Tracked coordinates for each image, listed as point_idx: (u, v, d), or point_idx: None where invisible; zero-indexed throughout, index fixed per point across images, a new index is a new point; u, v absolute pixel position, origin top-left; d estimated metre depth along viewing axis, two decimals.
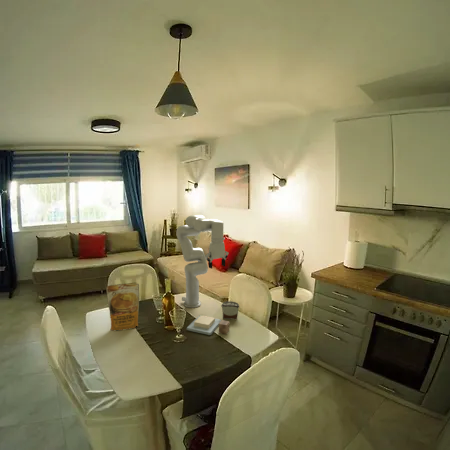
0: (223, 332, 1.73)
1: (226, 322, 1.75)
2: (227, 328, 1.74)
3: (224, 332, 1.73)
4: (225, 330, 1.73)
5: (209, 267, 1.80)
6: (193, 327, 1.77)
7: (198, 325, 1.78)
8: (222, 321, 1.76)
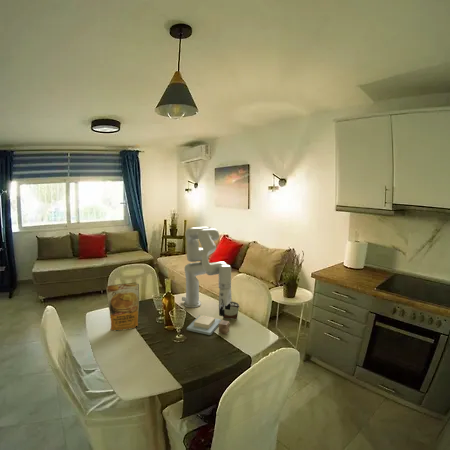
0: (223, 332, 1.73)
1: (226, 322, 1.75)
2: (227, 328, 1.74)
3: (224, 332, 1.73)
4: (225, 330, 1.73)
5: None
6: (193, 327, 1.77)
7: (198, 325, 1.78)
8: (222, 321, 1.76)
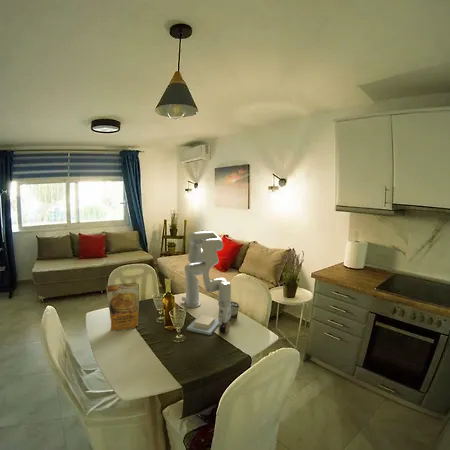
0: None
1: None
2: (227, 328, 1.74)
3: None
4: (225, 330, 1.73)
5: None
6: (193, 327, 1.77)
7: (198, 325, 1.78)
8: None
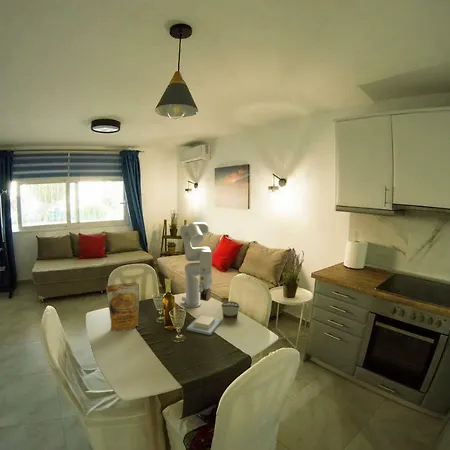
0: None
1: (207, 289, 1.79)
2: (208, 295, 1.78)
3: None
4: (206, 297, 1.77)
5: None
6: (193, 327, 1.77)
7: (198, 325, 1.78)
8: None
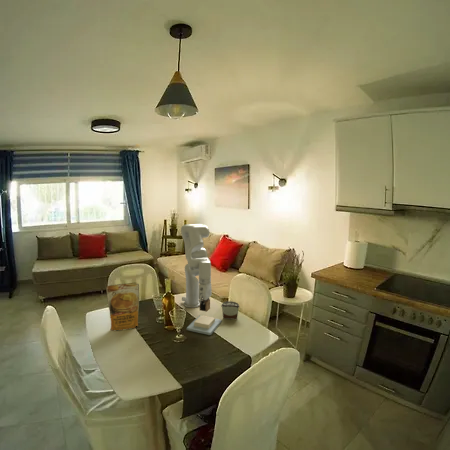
0: None
1: (207, 300, 1.80)
2: (207, 305, 1.79)
3: None
4: (205, 307, 1.77)
5: None
6: (193, 327, 1.77)
7: (198, 325, 1.78)
8: None
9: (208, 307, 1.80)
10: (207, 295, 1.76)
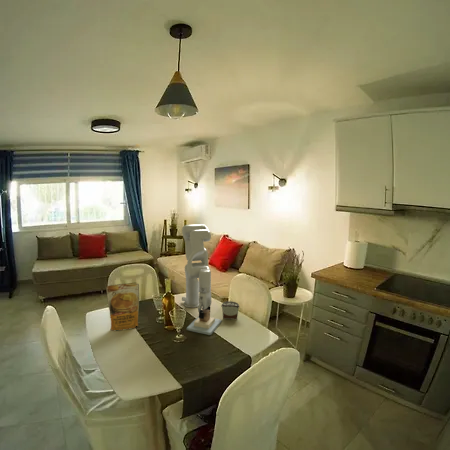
0: (203, 320, 1.80)
1: (206, 310, 1.81)
2: (207, 316, 1.80)
3: (204, 320, 1.79)
4: (205, 318, 1.79)
5: None
6: (193, 327, 1.77)
7: (198, 325, 1.78)
8: None
9: (208, 317, 1.81)
10: (207, 304, 1.77)
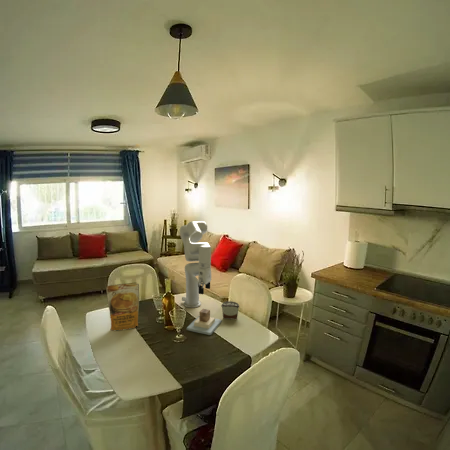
0: (203, 320, 1.80)
1: (206, 310, 1.81)
2: (207, 316, 1.80)
3: (204, 320, 1.79)
4: (205, 318, 1.79)
5: None
6: (193, 327, 1.77)
7: (198, 325, 1.78)
8: (203, 309, 1.83)
9: (208, 317, 1.81)
10: (207, 280, 1.76)
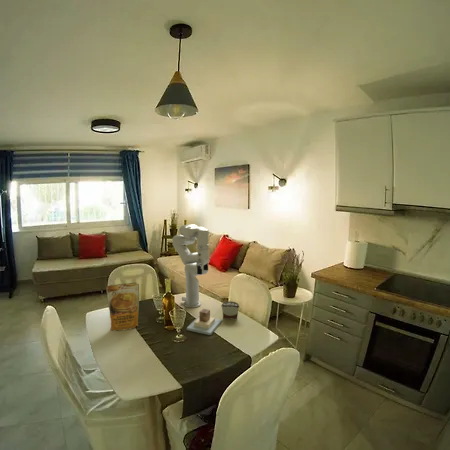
0: (203, 320, 1.80)
1: (206, 310, 1.81)
2: (207, 316, 1.80)
3: (204, 320, 1.79)
4: (205, 318, 1.79)
5: (206, 269, 1.98)
6: (193, 327, 1.77)
7: (198, 325, 1.78)
8: (203, 309, 1.83)
9: (208, 317, 1.81)
10: (205, 261, 1.90)
